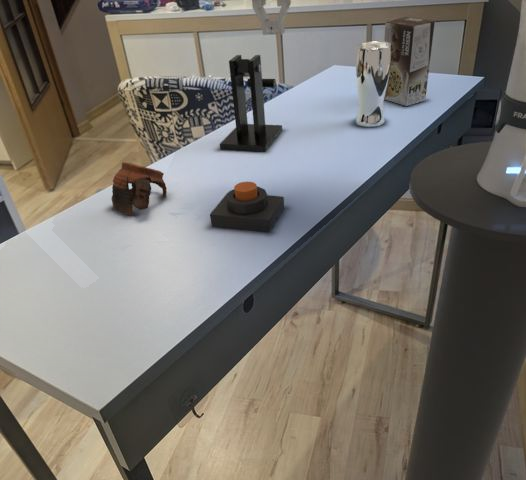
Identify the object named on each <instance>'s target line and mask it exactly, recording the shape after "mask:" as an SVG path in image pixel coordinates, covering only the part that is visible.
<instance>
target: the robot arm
mask: <svg viewBox="0 0 526 480" xmlns="http://www.w3.org/2000/svg"><path fill="white" fill-rule="evenodd" d="M205 1H206V2H221V1H222V2H223V1H224V0H205ZM276 4H277V7H278V8H279V7H280V10H279V12H278V14H277V16H276V18H270V17H269V15H268V13H267V11H266V9H265V7H264V6H266V5H267V0H251V5H252V9H253V11H254V13H255V15H256V16H257V18H258V19H259V21H260V23H261V33H262V35H263V36H270V35H283V34H284V33H285V30H286V29H285V18H286V16H287V13H288V11H289V9H290V6H291V4H292V1H291V0H276ZM519 15H520V16H519V25H518V32H517V36H516V37H517V38H516V43H515V47H514V52H513V56H512V62H511V66H510V70H509V76H508V80H507V84H506V89H504V91H502V94H501V97H500V100H499V104H498V107H497V112H496V117H495V123H494V126H495V127H494V129H495V132H494V136H493V139H492V140H491V141H492V144H491V147H490V150H489V152H488V155H487V157H486V160H485V162H484V164H483V166H482V168H481V170H480V172H479V173H478V175H477V182H478V184H479V185H480V186H481V187H482V188H483V189H485V190H486V191H488V192H490V193H492V194H495V195H497V196H500V197H503V198H505V199H507V200H509V201H510V202H511V203H513V204H514V205H516V206H519V207H526V0H521V7H520V14H519Z"/></svg>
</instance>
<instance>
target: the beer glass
mask: <svg viewBox="0 0 526 480" xmlns="http://www.w3.org/2000/svg"><path fill="white" fill-rule="evenodd" d="M355 63H356V65H355V80H356V82H355V83H356V90H357V98H358V109H357V114H356V119H355V124H356V125H358V126H360V127H364V128H374V127H379V126H381V125H383V124H384V123H385V115H384V105H385V99H384V98H385V94H386V90H387V86H388V81H389V76H390V68H391V43H389V42H385V41H384V40H371V41H365V42H362V43H359V44H358V45H357V54H356V62H355Z"/></svg>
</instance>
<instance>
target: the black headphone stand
mask: <svg viewBox="0 0 526 480" xmlns="http://www.w3.org/2000/svg"><path fill="white" fill-rule="evenodd" d="M261 58H262V57H261V54H255V55H254V56H253V57H251V58H250V59H249V61H248V64H249V75H250V77H249V79H250V87H249V88H250V97H251V106H252V107H251V109H252V110H251V111H252V120H253V123H248V114H247V103H246V102H247V100H246V91H245V90H246V89H245V81H244V79H245V78H244V77H242V76H241V75H240V74H239V73H238V59H243V58H242V55H241V54H236V55H235V56H233V57H232V58H231V59H229V60H228V64H229V66H228V67H229V75H230V76H229V77H230V84H231V95H232V103H233V113H234V120H235V121H234V122H235V128H234V129H233V130H231V132H230V133H229V134H228V135H227V136H226V137H225V138H224V139H223V140H222V141H221V142H220V143H219V149H220V150H221V151H241V152H243V151H244V152H259V153H260V152H262V153H266V152H267V150H268V149H269V148H270V147H271V146H272V144H273V143H274V142H275V141H276V139H277V138H278V137H279V136H280V134H281V133H282V131H283V125H282V124H281V125H280V124H266V113H265V103H264V88H263V86H262V79H263V73H262V72H263V71H262V59H261Z"/></svg>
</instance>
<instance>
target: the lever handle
mask: <svg viewBox="0 0 526 480" xmlns="http://www.w3.org/2000/svg"><path fill="white" fill-rule="evenodd" d="M249 60H250V59H249V58H242V59H238V73H239V74H240V75H241V76H242V77H243V78H247V80H246V85H247V88H251V87H250V75H249V64H248V61H249ZM262 86H263V89H265V88H267V89H268V88H269V89H272V88H273V89H274V88H276V86H277V80H276V78H262Z"/></svg>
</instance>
